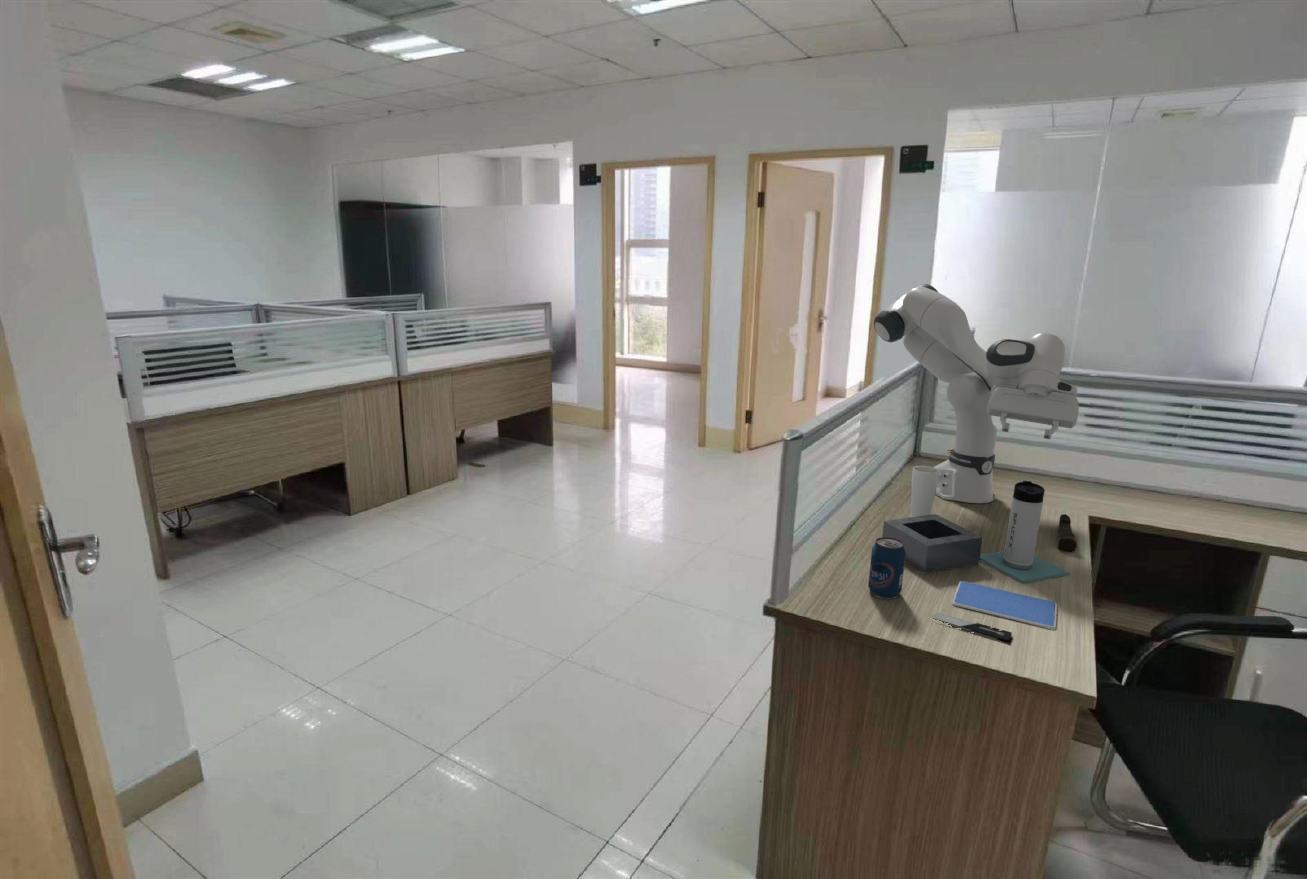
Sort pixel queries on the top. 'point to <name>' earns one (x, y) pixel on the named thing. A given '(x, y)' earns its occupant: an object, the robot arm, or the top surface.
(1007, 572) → the rubber mat
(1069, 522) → the hand tool
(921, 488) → the white tall cylinder
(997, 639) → the knife
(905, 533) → the square collar
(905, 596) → the top surface
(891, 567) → the soda can
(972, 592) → the tablet computer
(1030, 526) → the travel mug
